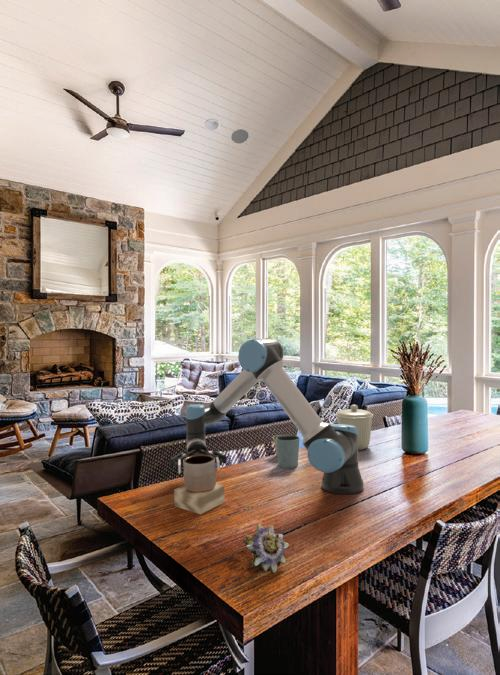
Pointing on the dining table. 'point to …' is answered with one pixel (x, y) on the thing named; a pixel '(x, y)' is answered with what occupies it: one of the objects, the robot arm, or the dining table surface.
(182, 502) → the maple block
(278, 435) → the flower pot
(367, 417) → the canister
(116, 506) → the dining table surface
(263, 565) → the passion flower
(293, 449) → the green cup
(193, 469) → the planter
